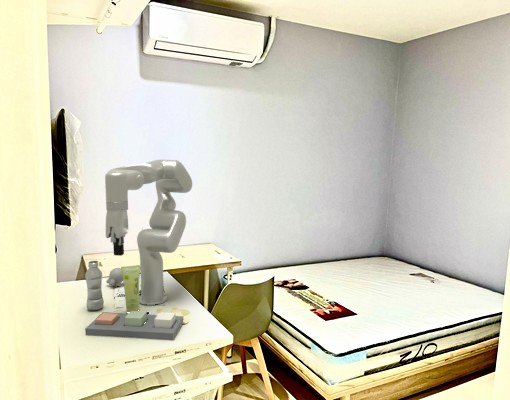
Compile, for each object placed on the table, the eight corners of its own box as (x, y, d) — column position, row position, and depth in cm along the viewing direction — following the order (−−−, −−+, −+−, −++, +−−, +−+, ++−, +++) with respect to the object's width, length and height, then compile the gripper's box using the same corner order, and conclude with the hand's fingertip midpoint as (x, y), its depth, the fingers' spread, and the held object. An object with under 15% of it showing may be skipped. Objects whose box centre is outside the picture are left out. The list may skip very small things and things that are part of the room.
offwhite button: (159, 321, 155) (159, 312, 154) (175, 321, 154) (175, 313, 154) (154, 328, 149) (154, 319, 148) (170, 329, 148) (170, 320, 148)
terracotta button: (103, 321, 157) (103, 312, 156) (118, 322, 156) (118, 313, 156) (96, 328, 151) (95, 319, 150) (111, 329, 150) (111, 320, 150)
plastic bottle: (98, 313, 165) (96, 265, 162) (83, 311, 167) (81, 263, 164) (107, 306, 172) (105, 260, 169) (92, 305, 173) (90, 259, 170)
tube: (131, 316, 163) (130, 268, 160) (122, 313, 166) (120, 266, 163) (142, 311, 168) (140, 264, 165) (133, 308, 170) (131, 262, 168)
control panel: (103, 318, 161) (102, 312, 160) (183, 322, 158) (183, 316, 158) (85, 335, 147) (85, 328, 147) (173, 340, 144) (173, 333, 144)
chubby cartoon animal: (132, 290, 197) (138, 273, 198) (108, 286, 190) (115, 268, 190) (127, 286, 203) (133, 269, 203) (104, 281, 196) (110, 264, 196)
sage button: (131, 319, 155) (131, 310, 155) (146, 320, 155) (146, 311, 154) (125, 326, 150) (124, 317, 149) (141, 327, 149) (140, 318, 149)
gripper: (115, 202, 157) (117, 249, 160) (97, 209, 142) (99, 260, 145) (134, 203, 156) (136, 249, 159) (118, 209, 142) (120, 261, 144)
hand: (118, 254), depth 152 cm, fingers closed
